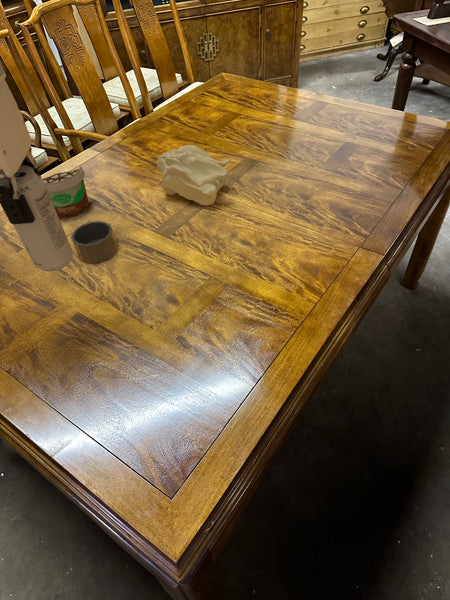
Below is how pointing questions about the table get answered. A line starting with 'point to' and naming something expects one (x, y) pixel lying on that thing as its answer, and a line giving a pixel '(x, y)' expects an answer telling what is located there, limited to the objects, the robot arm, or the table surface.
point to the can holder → (95, 242)
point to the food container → (67, 192)
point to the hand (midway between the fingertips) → (29, 207)
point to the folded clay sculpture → (192, 174)
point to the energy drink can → (41, 224)
